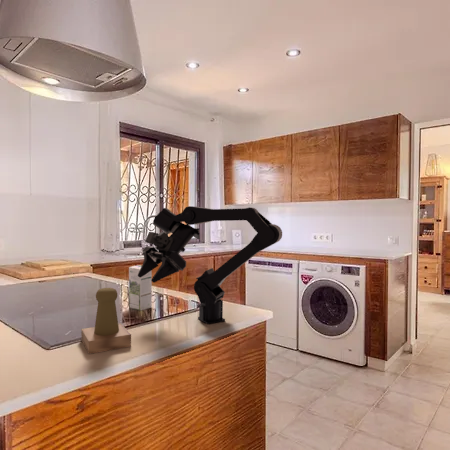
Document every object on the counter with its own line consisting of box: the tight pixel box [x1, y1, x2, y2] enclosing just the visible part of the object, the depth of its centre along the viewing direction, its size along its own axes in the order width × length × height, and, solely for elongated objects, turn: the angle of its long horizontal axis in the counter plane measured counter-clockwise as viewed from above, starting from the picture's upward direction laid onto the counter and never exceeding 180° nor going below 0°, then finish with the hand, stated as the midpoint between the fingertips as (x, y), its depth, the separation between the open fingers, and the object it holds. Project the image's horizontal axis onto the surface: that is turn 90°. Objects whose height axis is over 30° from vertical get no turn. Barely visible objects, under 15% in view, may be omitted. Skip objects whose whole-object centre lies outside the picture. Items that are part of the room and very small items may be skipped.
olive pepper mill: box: [94, 287, 119, 335], centre depth 90 cm, size 6×6×11 cm
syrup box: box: [128, 264, 153, 311], centre depth 123 cm, size 6×6×14 cm
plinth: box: [80, 322, 132, 355], centre depth 90 cm, size 10×10×3 cm
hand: (145, 279), depth 105 cm, fingers open, 9 cm apart
